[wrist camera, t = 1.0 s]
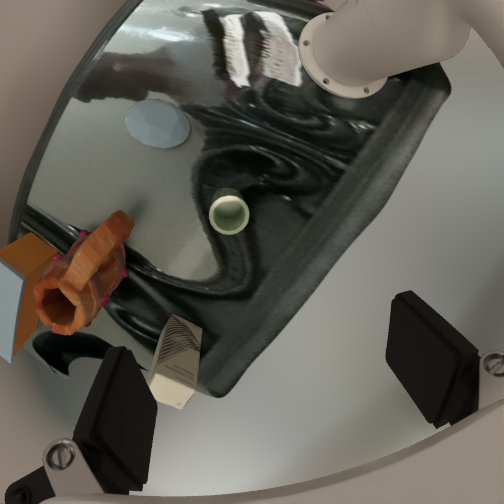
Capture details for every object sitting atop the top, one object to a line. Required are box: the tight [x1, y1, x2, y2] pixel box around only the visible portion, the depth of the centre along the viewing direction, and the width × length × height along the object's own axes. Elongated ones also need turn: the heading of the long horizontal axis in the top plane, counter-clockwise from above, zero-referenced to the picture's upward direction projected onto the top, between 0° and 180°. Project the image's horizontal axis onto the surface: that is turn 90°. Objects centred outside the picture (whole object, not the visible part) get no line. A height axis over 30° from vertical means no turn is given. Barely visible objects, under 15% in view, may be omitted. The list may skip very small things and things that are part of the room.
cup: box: [209, 187, 249, 235], centre depth 33 cm, size 4×4×6 cm
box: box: [147, 314, 202, 410], centre depth 35 cm, size 5×4×13 cm
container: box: [0, 232, 58, 363], centre depth 32 cm, size 16×6×10 cm, turn 146°
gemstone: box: [125, 99, 190, 148], centre depth 30 cm, size 8×8×5 cm
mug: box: [33, 210, 134, 335], centre depth 29 cm, size 15×8×15 cm, turn 134°
